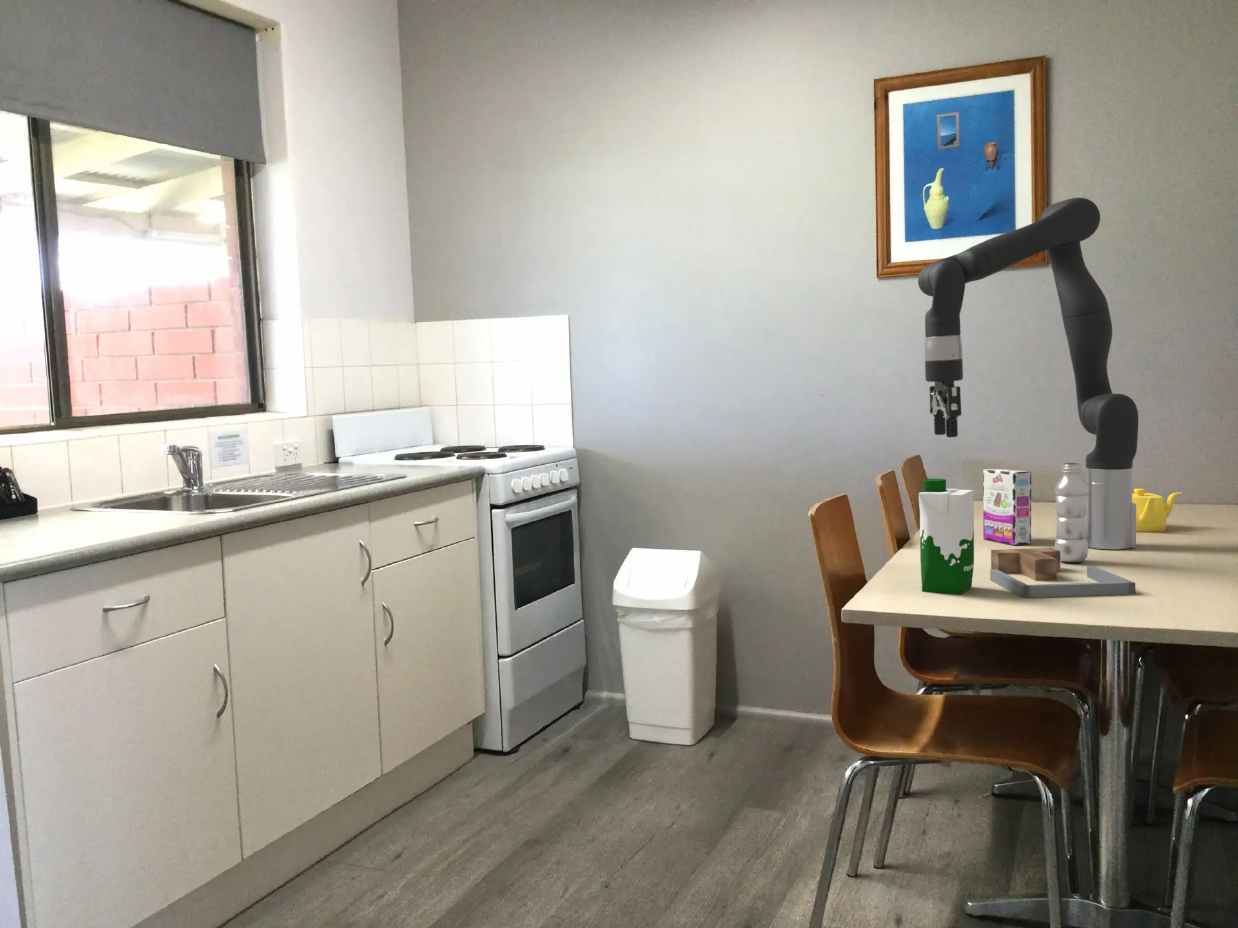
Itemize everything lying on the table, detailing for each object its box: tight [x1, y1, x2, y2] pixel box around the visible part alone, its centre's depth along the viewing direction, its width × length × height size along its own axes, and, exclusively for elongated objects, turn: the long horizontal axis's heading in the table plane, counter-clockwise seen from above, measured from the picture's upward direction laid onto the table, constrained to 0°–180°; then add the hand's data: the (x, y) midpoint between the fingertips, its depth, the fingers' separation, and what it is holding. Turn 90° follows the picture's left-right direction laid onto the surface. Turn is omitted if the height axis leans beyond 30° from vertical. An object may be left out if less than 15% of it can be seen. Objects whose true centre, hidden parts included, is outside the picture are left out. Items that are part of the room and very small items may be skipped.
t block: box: [990, 547, 1061, 582], centre depth 204 cm, size 12×12×4 cm
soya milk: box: [918, 478, 975, 595], centre depth 192 cm, size 9×9×20 cm
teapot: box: [1132, 488, 1183, 533], centre depth 253 cm, size 15×14×10 cm
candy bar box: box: [982, 468, 1032, 546], centre depth 241 cm, size 11×5×16 cm, turn 18°
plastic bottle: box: [1053, 462, 1090, 564], centre depth 214 cm, size 6×7×20 cm
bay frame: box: [989, 565, 1136, 599], centre depth 192 cm, size 19×16×2 cm
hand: (945, 435), depth 223 cm, fingers open, 8 cm apart
